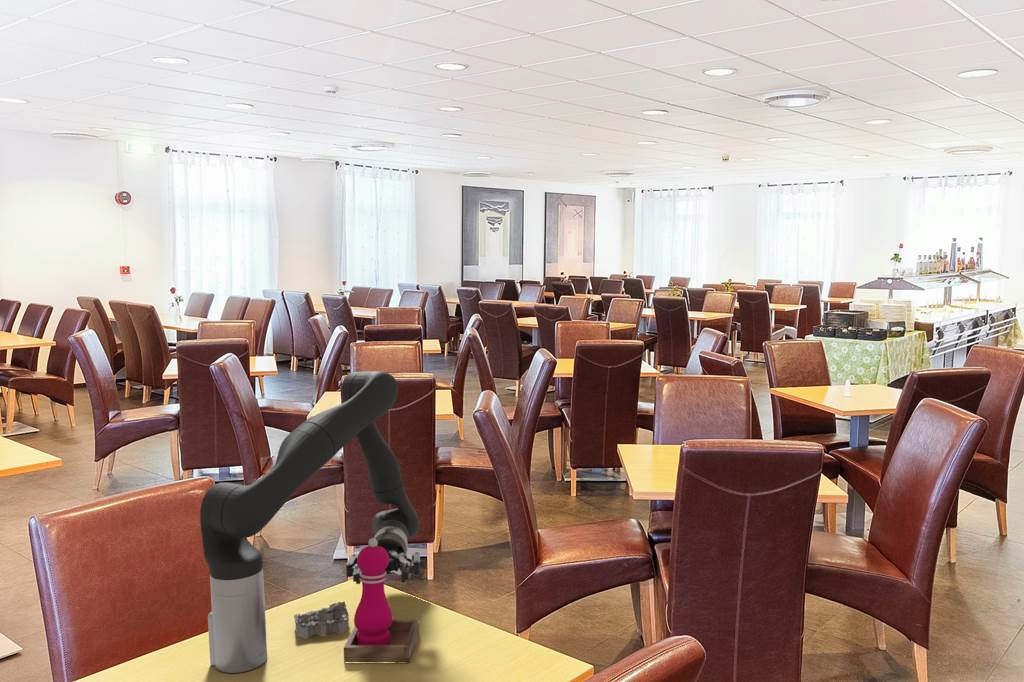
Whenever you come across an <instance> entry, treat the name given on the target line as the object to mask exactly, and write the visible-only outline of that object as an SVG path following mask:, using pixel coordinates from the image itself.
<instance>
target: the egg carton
mask: <svg viewBox="0 0 1024 682" xmlns="http://www.w3.org/2000/svg"><path fill="white" fill-rule="evenodd" d="M293 617H294V624H295V630H296V631H295V634H296V635H295V636H296V637H297V638H302V639H309V638H310V637H312V636H314V635H319V636H320V637H323V636H325V637H326V636H327V635H328V634H329V633H337V632H338V634H344V633H345V630H346V631H348V630H349V629H350V624H349V621H350V618H349V617H350V615H349V612H348V609H347V605H346V602H345V601H342V602H341V601H338V602H334V603H332V604H330V605H329V607H321V609H319V610H311V611H308V612H305V613H302V614H301V613H298V614H297V613H296V614H294V616H293ZM337 619H341V620H337ZM347 629H348V630H347ZM343 632H344V633H343Z"/></svg>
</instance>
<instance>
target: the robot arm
mask: <svg viewBox="0 0 1024 682" xmlns="http://www.w3.org/2000/svg"><path fill="white" fill-rule="evenodd" d="M340 390H341V392H340V393H341V401H342V403H340V404H337V405H335V406H333V407H331V408H328V409H326V410H324V411H321V412H319V413H317V414H315V415H313V416H311V417H309V418H308V419H306V420H304V421H303V422H301V423H300V424H299V425H298V426H297V427H296V428H295V429H293V430H292V431H291V432H289V434H287V436H286V437H284V439H283V440H282V442H281V443H280V446H279V450H278V452H277V456H276V459H275V463H274V466H272V468H271V469H270V470H268V472H266V473H265V474H264V475H263V476H262V477H261V478H259V479H258V480H257V481H254V482H253V483H252V484H249V485H245V484H239V483H233V482H219V483H215V484H213V485H212V486H210V488H208V489H207V490H206V492H205V493H204V495H203V498H202V500H201V504H200V508H199V509H200V512H199V520H200V522H199V524H200V532H201V540H202V548H203V549H202V551H203V556H204V560H205V562H206V563H207V565H208V569H209V582H210V598H211V599H210V602H211V611H210V612H209V613H208V615H207V627H208V628H207V629H208V645H209V646H208V647H209V664H210V665H211V666H214V668H215V669H216V670H217V671H220V672H222V673H227V674H228V673H230V674H235V673H242V672H243V673H244V672H249V671H251V670H254V669H257V668H259V667H260V666H262V665H263V664H264V663H265V662H267V659H268V645H267V625H266V624H267V623H266V621H267V620H266V606H265V605H266V603H265V584H264V563H263V555H262V553H261V551H260V550H258V548H257V547H255V546H254V545H253V544H252V543H251V542H250V541H249V539H248V538H250V537H253V536H255V535H257V534H258V533H259V532H260V531H262V530H263V529H264V528H265V527H266V526H267V524H269V523H270V521H271V520H273V518H274V517H275V516H276V515H277V513H279V511H280V510H281V509H282V507H283V506H284V505H285V504H286V503H287V502H288V501H289V500H290V498H291V497H293V496H294V494H295V493H296V492H297V491H298V490H299V489H300V488H301V487H302V486H303V485H305V484H306V483H307V481H308V480H310V479H311V477H313V476H314V475H315V474H316V473H317V472H319V470H321V469H323V467H324V466H325V465H326V464H327V463H328V462H329V461H330V460H332V458H333V457H334V456H336V455H337V454H338V453H339V451H341V450H342V449H343V448H344V447H345V446H346V445H348V444H349V442H351V441H352V440H353V439H354V438H356V439H357V442H358V445H359V447H360V450H361V453H362V455H363V458H364V461H365V465H366V469H367V473H368V477H369V478H368V479H369V483H370V486H371V492H372V497H373V499H374V501H375V502H376V503H378V504H382V505H383V504H384V505H392V506H395V507H396V508H393V509H387V510H382V511H379V512H377V513H376V514H374V515H373V518H372V520H371V521H372V522H371V528H372V529H371V530H372V533H373V535H374V537H373V538H375V539H376V540H377V541H378V544H377V546H380V547H382V548H384V549H385V550H386V551H387V553H388V555H389V564H388V566H387V567H386V569H385V571H386V572H387V573H386V575H391V574H396V575H398V576H401V578H400V579H401V583H406V581H408V580H410V578H411V575H412V574H414V575H420V574H421V553H420V552H419V551H415V552H414V553H413V554H412V555H411V556H410V555H409V556H407V554H408V549H409V548H408V546H409V545H408V541H409V539H410V538H414V537H415V536H417V534H418V532H419V530H420V524H421V523H420V519H419V516H418V514H417V512H416V510H415V509H414V506H413V504H412V503H411V501H410V500H409V498H408V495H407V493H406V489H405V486H404V483H403V476H402V473H401V467H400V464H399V461H398V459H397V457H396V455H395V453H394V451H393V450H392V449H391V447H390V445H388V443H387V442H386V440H385V439H384V438H383V436H382V434H381V433H380V431H379V428H378V427H377V425H376V423H375V421H376V420H377V419H379V418H380V417H382V416H383V415H385V414H386V413H387V412H389V411H390V409H391V408H393V406H394V404H395V403H396V400H397V397H398V394H399V385H398V382H397V380H396V379H395V377H394V376H393V375H392V374H390V373H388V372H385V371H381V370H373V371H372V370H370V371H354V372H350V373H349V374H347V375H346V376H345V378H344V379H343V380H342V384H341V388H340ZM357 557H358V554H356V553H353V554H351V555H350V556H349V558H348V560H347V562H346V564H345V568H346V569H345V570H346V577H348V578H352V581H353V582H355V585H361V583H362V582H361V581H360V572H361V570H360V569H359V568H358V565H357Z"/></svg>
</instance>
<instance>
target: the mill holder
mask: <svg viewBox="0 0 1024 682" xmlns="http://www.w3.org/2000/svg"><path fill="white" fill-rule="evenodd" d="M419 622H420V620H419V619H418V618H417V619H416V618H415V619H412V618H411V619H407V618H406V619H405V618H404V619H403V618H402V619H393V622H392V624H391V626H390V627H389V628H388V630H389V631H390V642H389V644H388V645H358V644H357V633H358V632H359V630H358V629H357V628H356V627H355V625H354V626H353V628H352V631H351V632H350V634H349V636H348V638H347V640H346V642H345V644H344V646H343V664H346V663H345V662H396V663H395V664H399V663H398V662H406V663H405V664H408V663H407V662H410V663H411V661H412V658H411V657H413V655H412V654H414V651H415V648H416V645H417V642H418V640H419V636H420V623H419ZM410 660H411V661H410Z"/></svg>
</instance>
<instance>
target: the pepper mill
mask: <svg viewBox="0 0 1024 682" xmlns="http://www.w3.org/2000/svg"><path fill="white" fill-rule="evenodd" d="M367 544H368V546H365V547H363V548H362V549H361V550H360V551H359V553H358V554H357V565H358V568H359V569H360V570H361V572H360V581H361V583H362V585H361V586H362V594H361V597H360V601H359V603H358V605H357V607H356V610H355V613H354V617H353V618H354V619H353V625H354V626H355V627H356V628H357V629H358V630H359V632H358V633H357V644H358V645H388V644H389V642H390V631H389V630H388V628H389V627H390V626H391V624H392V622H393V620H394V619H393V618H394V617H393V612H392V611H393V610H392V609H391V605H390V604H389V601H388V599H387V597H386V593H385V581H386V580H387V577H388V576H387V574H386V573H387V572H386V571H385V569H386V567H387V566H388V564H389V555H388V553H387V551H386V550H385V549H384V548H382V547H380V546H377V544H378V541H377V540H376V539H375V538H374V537H372V538H369V540H368V542H367Z"/></svg>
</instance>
